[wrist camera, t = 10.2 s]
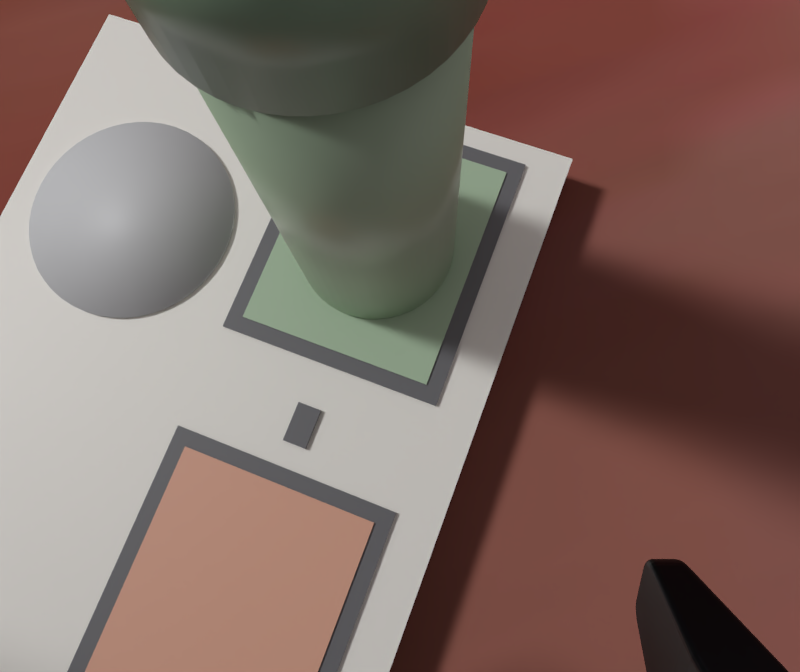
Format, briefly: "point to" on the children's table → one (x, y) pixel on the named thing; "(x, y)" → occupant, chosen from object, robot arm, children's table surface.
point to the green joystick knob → (339, 128)
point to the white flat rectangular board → (225, 396)
